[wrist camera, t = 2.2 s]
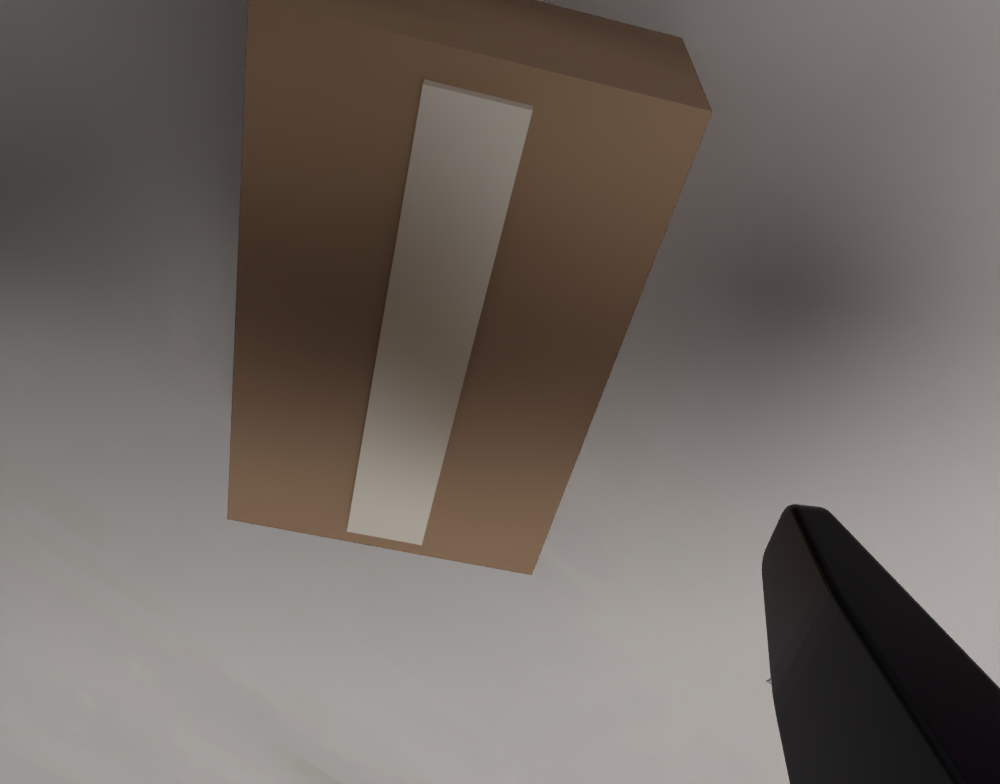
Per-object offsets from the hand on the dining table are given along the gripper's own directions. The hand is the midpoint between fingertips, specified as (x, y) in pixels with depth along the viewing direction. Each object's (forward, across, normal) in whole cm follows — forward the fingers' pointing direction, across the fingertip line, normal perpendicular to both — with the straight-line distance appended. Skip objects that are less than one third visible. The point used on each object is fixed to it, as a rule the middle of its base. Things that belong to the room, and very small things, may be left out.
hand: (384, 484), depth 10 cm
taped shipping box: (+6, 0, 0) cm, 6 cm away
